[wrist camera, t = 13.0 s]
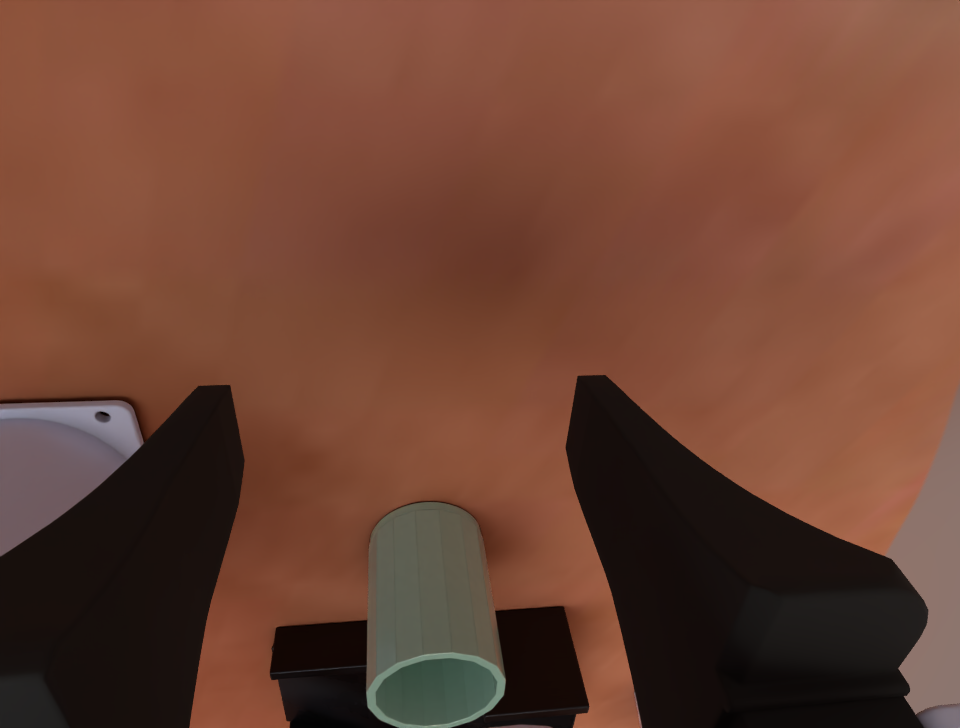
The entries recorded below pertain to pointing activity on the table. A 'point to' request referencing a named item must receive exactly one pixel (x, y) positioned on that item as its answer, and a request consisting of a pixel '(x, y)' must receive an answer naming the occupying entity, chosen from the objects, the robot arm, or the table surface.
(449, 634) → the cup
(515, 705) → the chute rails
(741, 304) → the table surface
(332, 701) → the chute
